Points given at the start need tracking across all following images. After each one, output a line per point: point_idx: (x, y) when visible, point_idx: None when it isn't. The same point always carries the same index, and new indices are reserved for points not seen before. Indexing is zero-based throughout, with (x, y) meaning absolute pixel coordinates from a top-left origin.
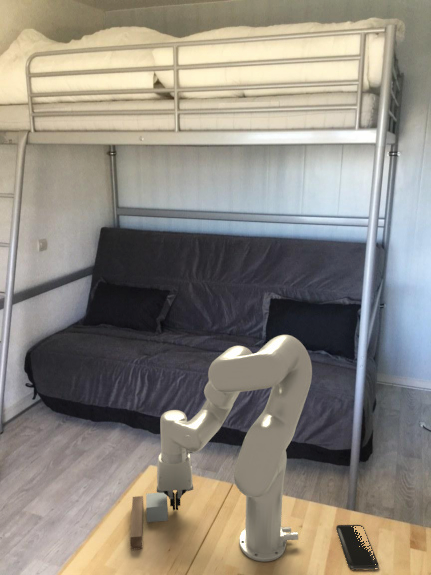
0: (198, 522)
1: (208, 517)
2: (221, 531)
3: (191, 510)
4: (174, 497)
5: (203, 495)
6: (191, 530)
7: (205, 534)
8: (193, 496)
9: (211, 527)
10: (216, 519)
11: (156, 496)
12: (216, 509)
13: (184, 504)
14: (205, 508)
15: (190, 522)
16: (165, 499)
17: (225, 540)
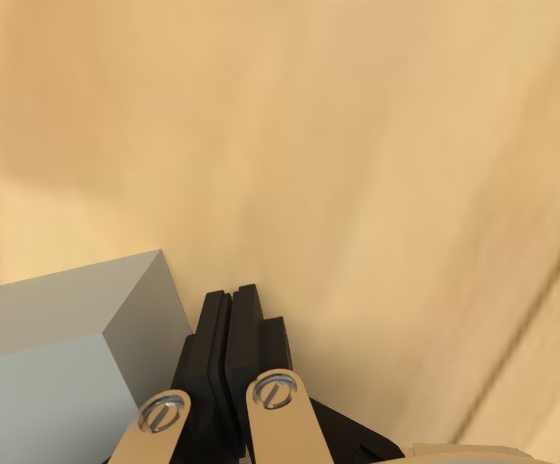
0: (412, 369)
1: (481, 323)
2: (543, 412)
3: (363, 274)
4: (232, 437)
5: (467, 81)
6: (370, 426)
7: (450, 440)
8: (374, 104)
9: (490, 394)
10: (532, 333)
11: (6, 413)
12: (550, 245)
13: (302, 216)
14: (469, 243)
15: (361, 374)
16: None
17: (551, 458)
